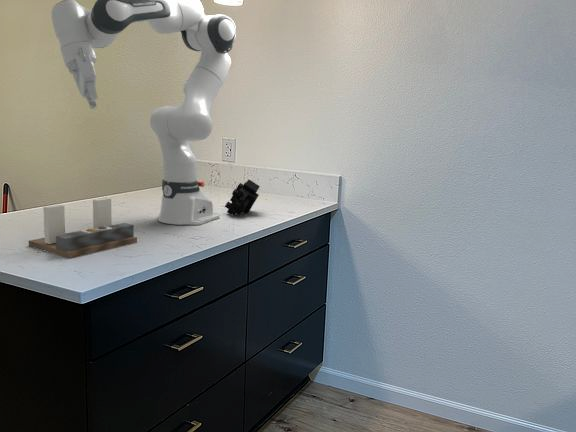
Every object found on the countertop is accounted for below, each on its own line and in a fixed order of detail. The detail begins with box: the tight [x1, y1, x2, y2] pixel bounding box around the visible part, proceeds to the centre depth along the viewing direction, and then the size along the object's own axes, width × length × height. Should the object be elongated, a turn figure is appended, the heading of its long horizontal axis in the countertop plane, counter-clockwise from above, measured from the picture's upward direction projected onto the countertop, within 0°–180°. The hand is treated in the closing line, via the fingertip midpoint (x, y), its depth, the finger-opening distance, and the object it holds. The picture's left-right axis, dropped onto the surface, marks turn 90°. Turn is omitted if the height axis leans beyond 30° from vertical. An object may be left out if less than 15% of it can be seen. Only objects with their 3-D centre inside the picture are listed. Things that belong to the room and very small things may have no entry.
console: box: [27, 222, 138, 259], centre depth 163 cm, size 23×18×6 cm
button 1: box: [43, 204, 66, 244], centre depth 157 cm, size 5×2×10 cm, turn 147°
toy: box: [224, 179, 261, 217], centre depth 214 cm, size 12×8×15 cm
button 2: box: [92, 197, 113, 228], centre depth 170 cm, size 5×2×10 cm, turn 147°
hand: (94, 103), depth 165 cm, fingers open, 8 cm apart
